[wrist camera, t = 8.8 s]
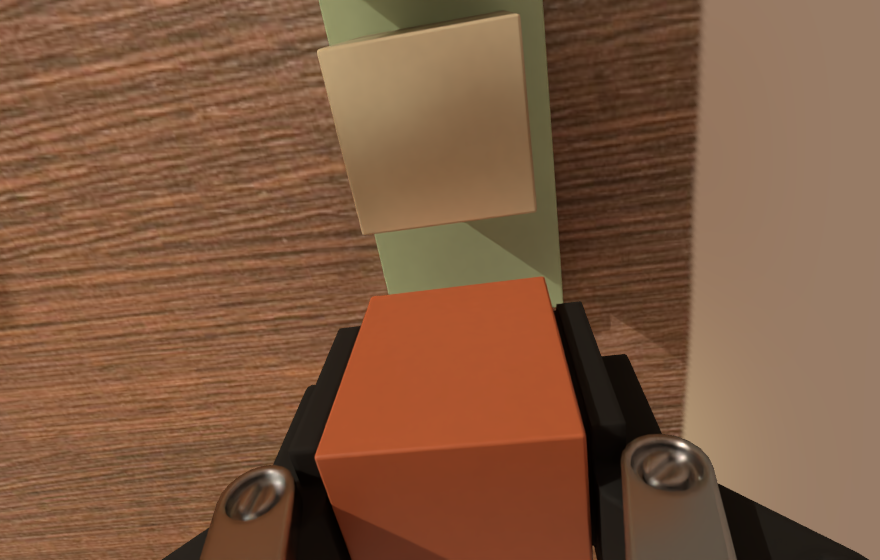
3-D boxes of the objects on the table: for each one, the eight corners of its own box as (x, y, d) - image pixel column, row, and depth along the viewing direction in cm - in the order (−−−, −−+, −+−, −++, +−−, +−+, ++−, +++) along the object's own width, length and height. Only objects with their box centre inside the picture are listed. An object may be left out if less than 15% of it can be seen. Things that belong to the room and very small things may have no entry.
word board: (275, -202, 13) (153, -330, 8) (522, -263, 12) (555, -444, 7) (398, 316, 20) (372, 422, 15) (561, 298, 19) (592, 402, 14)
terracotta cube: (370, 295, 12) (312, 457, 8) (544, 275, 12) (586, 435, 7) (403, 426, 14) (371, 619, 10) (556, 413, 14) (596, 610, 9)
